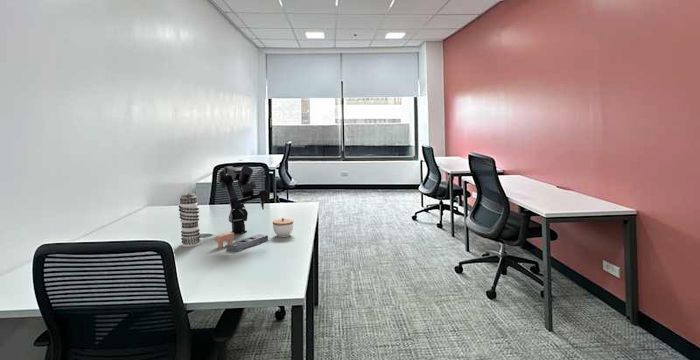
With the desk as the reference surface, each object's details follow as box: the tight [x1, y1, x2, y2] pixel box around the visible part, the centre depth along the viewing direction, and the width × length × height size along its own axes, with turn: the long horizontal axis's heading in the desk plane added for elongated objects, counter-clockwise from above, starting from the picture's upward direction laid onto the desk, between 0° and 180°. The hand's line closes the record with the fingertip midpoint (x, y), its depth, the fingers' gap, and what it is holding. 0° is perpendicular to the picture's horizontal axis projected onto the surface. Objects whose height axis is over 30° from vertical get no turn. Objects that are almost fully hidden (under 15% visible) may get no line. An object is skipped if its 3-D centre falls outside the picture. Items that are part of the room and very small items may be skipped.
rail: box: [225, 233, 269, 252], centre depth 205 cm, size 6×22×2 cm, turn 150°
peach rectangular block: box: [214, 231, 235, 249], centre depth 204 cm, size 3×9×6 cm, turn 150°
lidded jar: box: [272, 217, 294, 238], centre depth 221 cm, size 11×11×9 cm
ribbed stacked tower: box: [178, 192, 201, 248], centre depth 206 cm, size 9×9×25 cm
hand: (254, 212), depth 206 cm, fingers open, 9 cm apart
